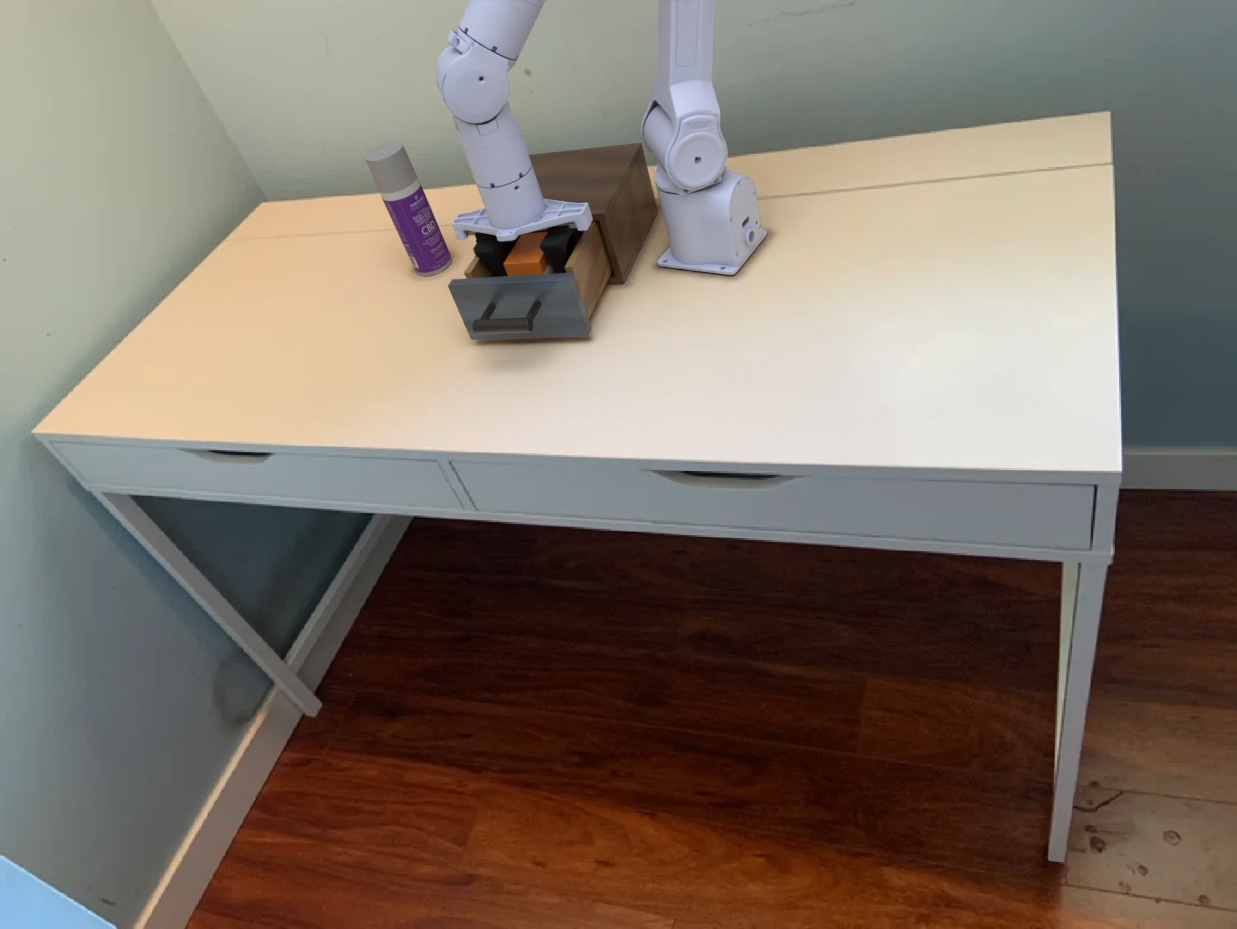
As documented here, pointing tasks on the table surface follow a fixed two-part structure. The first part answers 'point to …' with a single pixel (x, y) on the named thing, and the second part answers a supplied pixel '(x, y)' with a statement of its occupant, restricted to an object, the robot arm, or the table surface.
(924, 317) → the table surface
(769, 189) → the table surface
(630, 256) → the cabinet
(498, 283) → the drawer
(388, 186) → the container
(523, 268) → the snack box
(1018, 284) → the table surface
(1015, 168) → the table surface
